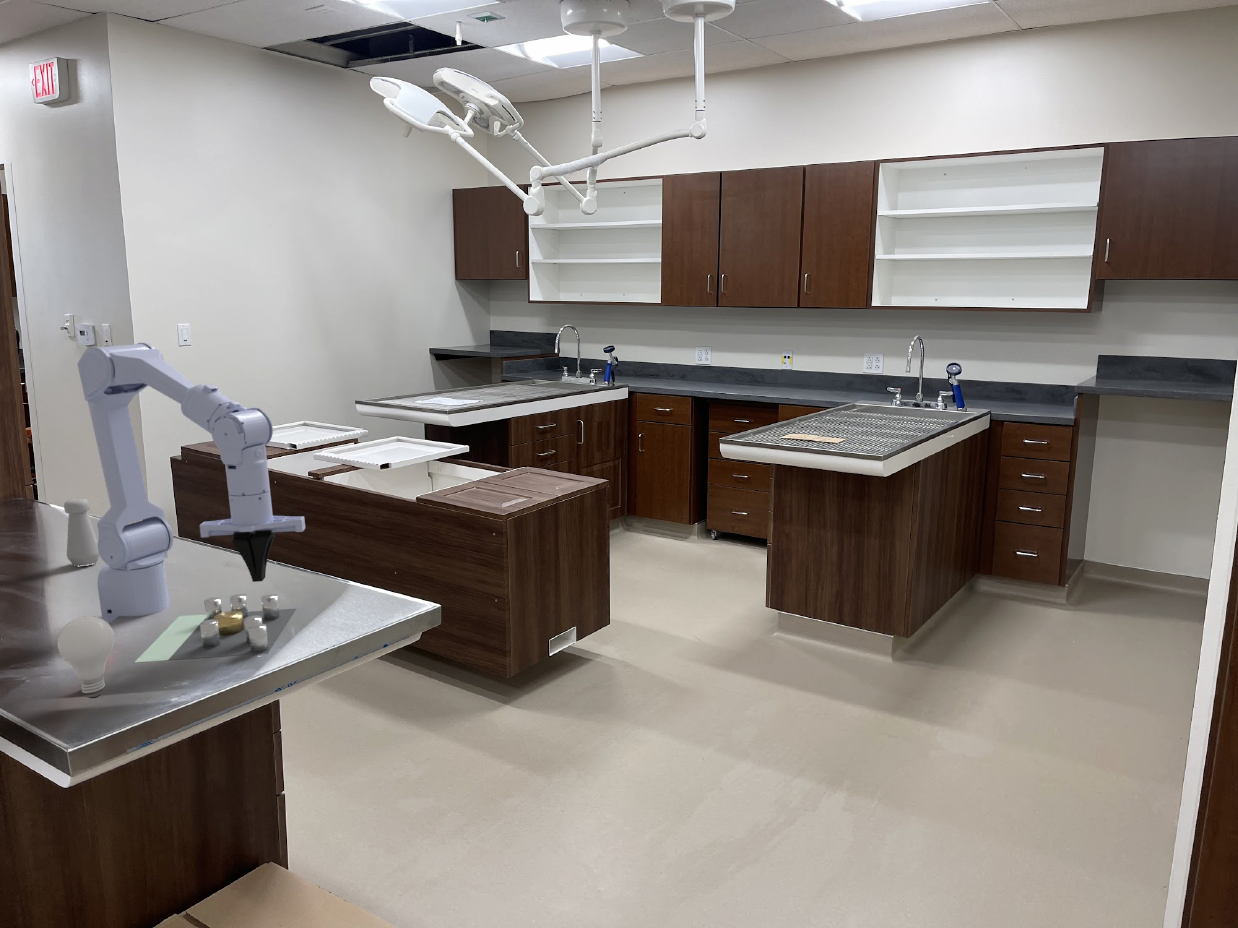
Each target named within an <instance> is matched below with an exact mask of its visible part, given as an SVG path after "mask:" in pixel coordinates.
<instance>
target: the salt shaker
mask: <svg viewBox="0 0 1238 928" xmlns="http://www.w3.org/2000/svg"><path fill="white" fill-rule="evenodd" d="M63 508H64V509H63V510H64V513H66V514H68V517H67V521H68V522H67V540H66V541H67V543H66V557H67V559H68V560H69V562H70V563H71V564H72V565H75V566H78V565H79V566H80V565H87V564H92V563H96V562H97V561H99V558H100V557H101V556H100V554H99V551H98V538H97V535H96V532H95V530H94V527H93V525H92V522H91V519H90V516H89V514H88V513H89V512H88V511H89V510H90V509H91V506H90V501H89V500H88V499H87V498H73V499H68V500H67V501H65V502H64V504H63ZM97 563H98V562H97ZM97 563H96V564H97ZM75 566H74V567H75Z"/></svg>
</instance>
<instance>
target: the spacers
mask: <svg viewBox="0 0 1238 928" xmlns="http://www.w3.org/2000/svg"><path fill="white" fill-rule="evenodd" d="M260 599H261V607H262V608H261V609H262V610H261V611H263V619H264V620H275V619H278V618H279V617H280V614H279V610H280V606H279V596H278V594H277V593H268V594H264V595H262V596H261V598H260ZM229 603H230V604H229V605H230V611H240V612H242V614H243V619H244V624H245V633H246V642H247V643H248V644H250V650H251V652H252V653H261V652H264V651H267V650H268V649H269V647H268V638H267V629H266V624H262V617H261V616H257V615H256V616H249V617H248V612H249V610H248V609H249V608H248V600H247V594H245V593H237V594H232V595H231V596H230V597H229ZM204 610H205V611H204V612H205V614H206V621H203V622H201V623H200V629H201V637H202V646H203V648H207V649H208V648H215V647H217V646H219V645H220V644H221V643H220V634H219V626H218V620H214V616H216V615H217V614H220V613H223V603H222V598H221V597H217V596H216V597H210V598H207V599H205V600H204Z"/></svg>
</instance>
